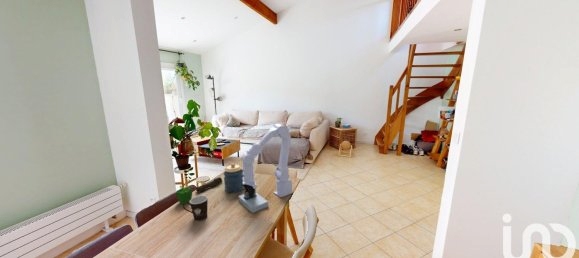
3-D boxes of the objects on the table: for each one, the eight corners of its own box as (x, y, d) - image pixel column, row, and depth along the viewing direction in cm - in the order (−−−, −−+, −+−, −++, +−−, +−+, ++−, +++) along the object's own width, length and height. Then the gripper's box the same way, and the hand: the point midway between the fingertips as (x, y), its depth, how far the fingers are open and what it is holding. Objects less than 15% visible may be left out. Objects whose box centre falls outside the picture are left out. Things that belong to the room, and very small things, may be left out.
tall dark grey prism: (253, 197, 128) (252, 187, 126) (256, 199, 125) (255, 188, 124) (244, 201, 124) (243, 190, 123) (247, 203, 122) (246, 192, 120)
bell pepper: (195, 201, 127) (193, 186, 125) (180, 207, 121) (178, 191, 119) (190, 197, 133) (188, 182, 131) (175, 202, 127) (173, 186, 125)
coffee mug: (213, 213, 113) (211, 196, 112) (201, 223, 105) (199, 205, 104) (195, 210, 117) (193, 193, 115) (183, 219, 109) (180, 201, 107)
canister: (248, 186, 144) (246, 162, 141) (234, 194, 134) (232, 168, 130) (235, 182, 151) (233, 159, 148) (220, 190, 140) (218, 164, 137)
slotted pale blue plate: (253, 195, 132) (253, 190, 132) (268, 206, 119) (268, 201, 118) (238, 200, 126) (238, 196, 126) (252, 213, 113) (252, 207, 112)
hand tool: (198, 193, 137) (198, 187, 136) (195, 192, 139) (195, 185, 139) (224, 183, 151) (223, 177, 150) (221, 182, 154) (220, 176, 153)
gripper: (236, 172, 125) (238, 193, 127) (248, 179, 114) (249, 202, 116) (247, 169, 129) (249, 189, 132) (259, 176, 118) (261, 198, 120)
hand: (250, 195), depth 124 cm, fingers closed on tall dark grey prism, 3 cm apart
